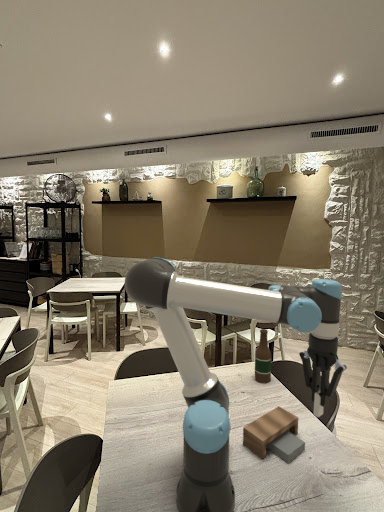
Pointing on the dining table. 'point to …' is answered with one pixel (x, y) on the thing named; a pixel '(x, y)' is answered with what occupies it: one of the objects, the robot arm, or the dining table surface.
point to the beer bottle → (263, 359)
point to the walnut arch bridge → (268, 429)
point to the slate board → (286, 446)
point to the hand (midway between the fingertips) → (318, 414)
